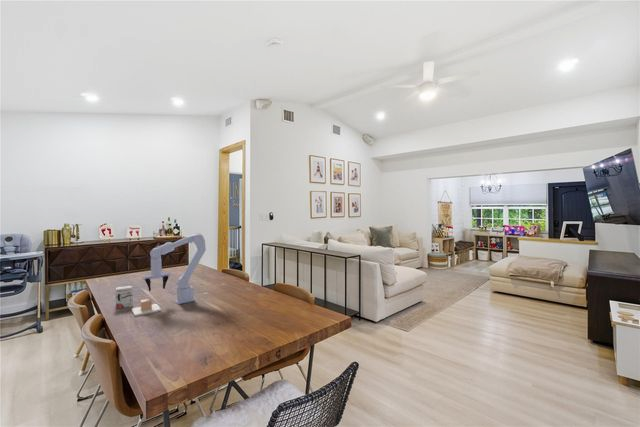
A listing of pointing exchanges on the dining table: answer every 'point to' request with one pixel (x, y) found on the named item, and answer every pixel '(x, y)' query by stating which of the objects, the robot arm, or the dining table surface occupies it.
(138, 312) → the mat
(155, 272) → the robot arm
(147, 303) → the cube
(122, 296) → the ink box
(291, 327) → the dining table surface
